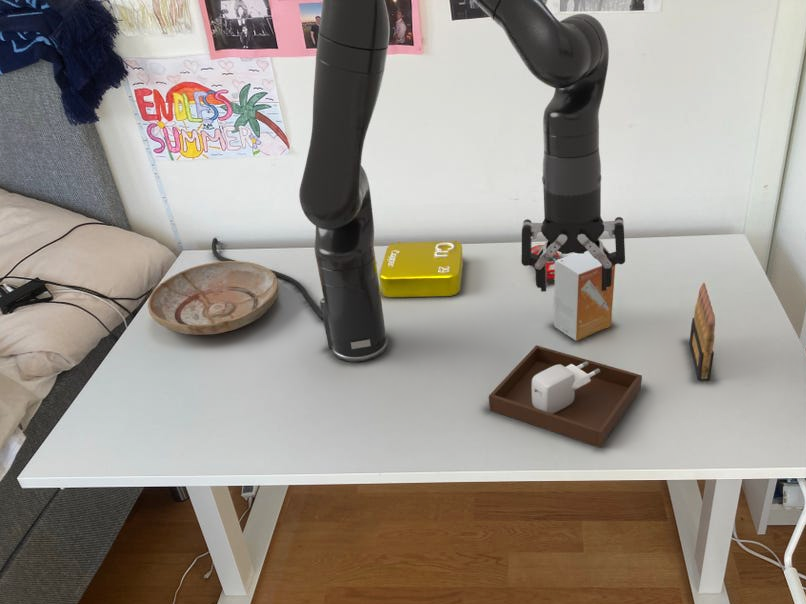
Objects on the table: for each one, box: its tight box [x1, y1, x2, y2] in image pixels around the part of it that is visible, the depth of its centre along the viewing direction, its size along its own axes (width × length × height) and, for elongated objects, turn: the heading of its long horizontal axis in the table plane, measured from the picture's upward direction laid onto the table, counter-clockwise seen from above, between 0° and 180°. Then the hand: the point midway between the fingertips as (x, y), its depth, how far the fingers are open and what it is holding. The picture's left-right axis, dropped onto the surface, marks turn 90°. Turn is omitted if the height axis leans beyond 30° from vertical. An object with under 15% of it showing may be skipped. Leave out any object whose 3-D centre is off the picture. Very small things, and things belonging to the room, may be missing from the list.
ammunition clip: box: [688, 282, 716, 382], centre depth 122 cm, size 11×2×12 cm, turn 175°
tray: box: [488, 345, 643, 449], centre depth 119 cm, size 18×15×3 cm
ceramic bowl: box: [147, 260, 280, 336], centre depth 144 cm, size 23×24×5 cm
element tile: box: [378, 240, 464, 298], centre depth 152 cm, size 15×15×5 cm
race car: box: [531, 244, 561, 283], centre depth 153 cm, size 13×5×4 cm, turn 9°
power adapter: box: [532, 361, 600, 414], centre depth 117 cm, size 11×5×6 cm, turn 127°
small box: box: [553, 251, 616, 342], centre depth 132 cm, size 8×6×13 cm
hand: (573, 288), depth 112 cm, fingers open, 8 cm apart
